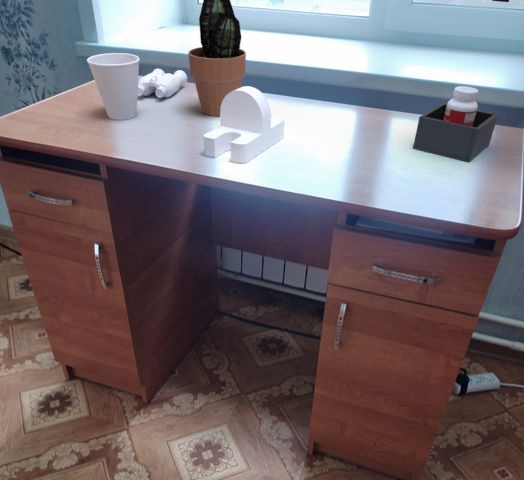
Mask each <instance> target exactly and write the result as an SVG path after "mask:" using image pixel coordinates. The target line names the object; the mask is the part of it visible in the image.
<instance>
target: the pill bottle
mask: <svg viewBox="0 0 524 480" xmlns="http://www.w3.org/2000/svg"><path fill="white" fill-rule="evenodd" d="M452 94H453V95H452V96H453V98H450V99H449V100H448V101H447V103H446V104H447V107H446V111H445V115H444V119H443V121H447V122H452V123H457V124H462V125H466V126H471V127H472V125H473V122H474V118H475V115H476V111H477V110H478V107H479V105H478V102H477V101H476V99H477V97H478V94H479V90H478V88H475V87H471V86H464V85H462V86H461V85H460V86H456V87H454V89H453V93H452Z"/></svg>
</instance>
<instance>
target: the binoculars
mask: <svg viewBox="0 0 524 480" xmlns="http://www.w3.org/2000/svg"><path fill="white" fill-rule="evenodd" d="M187 82H188V75H187V73H186V72H185V71H183V70H181V69H178V70H175V71H174V72H173V74H172V73H169V72H167V73H165V71H164V70H162V69H161V68H155V69H153V70H152V72H150V73H147V74H146V75H144V76H142V77H141V78H140V79H138V94H137V97H141V96H144V97H148V96H150V95H152V94H155V96H156V97H157V98H159V99H161V98H170V97H171V96H173V95H174V94H175V93H177V91H179V89H180V87H183V86H185V85H187Z"/></svg>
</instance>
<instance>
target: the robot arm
mask: <svg viewBox="0 0 524 480" xmlns="http://www.w3.org/2000/svg"><path fill="white" fill-rule="evenodd" d="M491 1H492V2H502V3H510V0H491Z"/></svg>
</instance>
